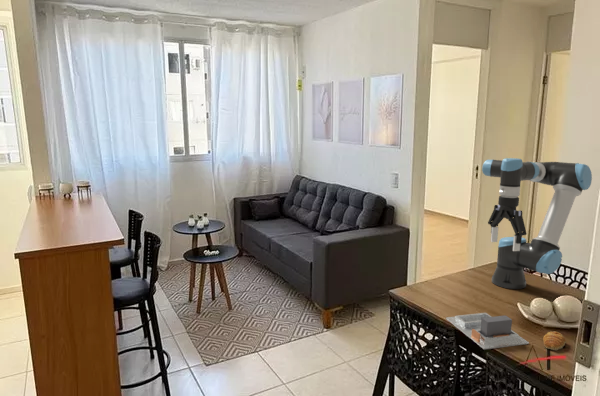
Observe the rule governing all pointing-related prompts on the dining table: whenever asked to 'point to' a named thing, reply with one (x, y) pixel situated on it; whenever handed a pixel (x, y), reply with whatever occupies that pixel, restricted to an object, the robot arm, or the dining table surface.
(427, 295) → the dining table surface
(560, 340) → the pastry
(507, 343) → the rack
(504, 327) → the grey rectangular block
